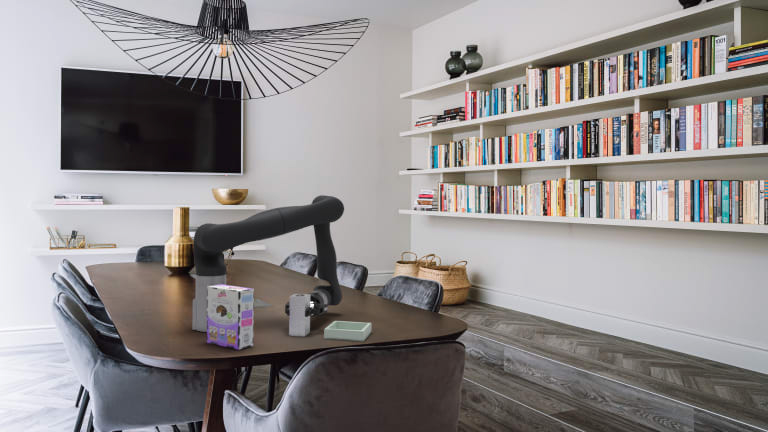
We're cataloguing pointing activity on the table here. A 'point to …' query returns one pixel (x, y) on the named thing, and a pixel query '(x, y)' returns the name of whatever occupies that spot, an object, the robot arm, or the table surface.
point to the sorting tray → (347, 331)
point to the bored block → (299, 315)
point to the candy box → (230, 316)
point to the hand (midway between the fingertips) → (297, 313)
